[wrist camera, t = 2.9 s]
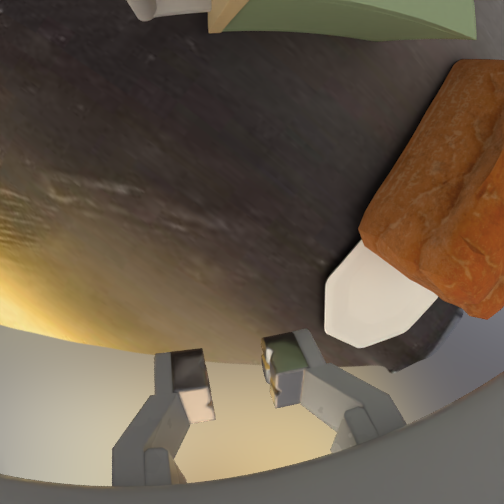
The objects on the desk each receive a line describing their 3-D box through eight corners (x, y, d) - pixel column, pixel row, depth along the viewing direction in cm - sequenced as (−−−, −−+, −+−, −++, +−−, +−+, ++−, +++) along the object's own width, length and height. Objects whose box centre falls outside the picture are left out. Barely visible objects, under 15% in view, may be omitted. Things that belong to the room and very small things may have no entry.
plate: (460, 258, 42) (466, 263, 40) (375, 351, 47) (379, 358, 46) (398, 180, 33) (406, 185, 32) (288, 310, 38) (292, 318, 37)
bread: (505, 122, 31) (593, 149, 18) (413, 280, 38) (490, 351, 25) (456, 46, 26) (562, 49, 12) (342, 230, 32) (436, 312, 19)
